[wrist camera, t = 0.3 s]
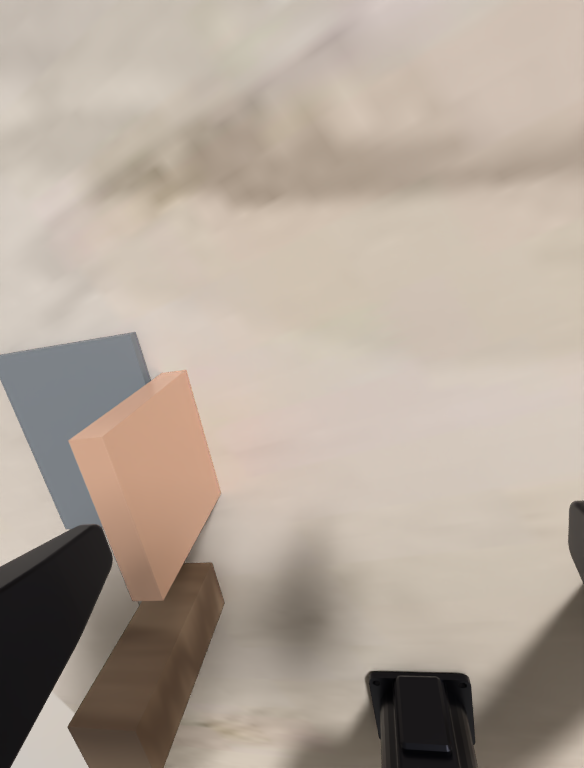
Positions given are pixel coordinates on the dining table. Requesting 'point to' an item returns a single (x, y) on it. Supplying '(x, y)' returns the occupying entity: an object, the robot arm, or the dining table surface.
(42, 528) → the dining table surface
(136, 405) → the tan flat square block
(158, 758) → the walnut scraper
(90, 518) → the slate mat
